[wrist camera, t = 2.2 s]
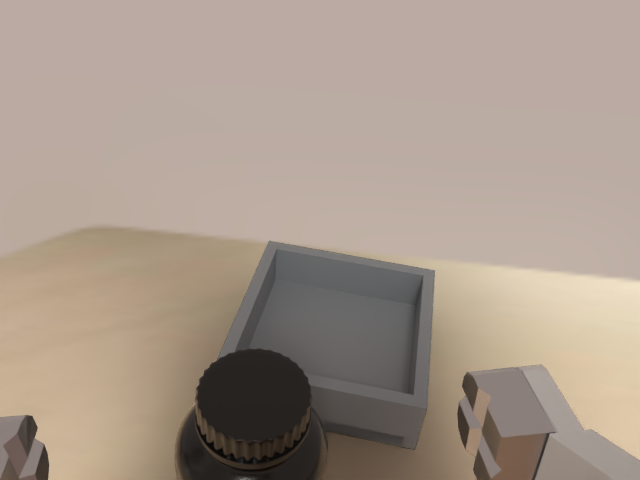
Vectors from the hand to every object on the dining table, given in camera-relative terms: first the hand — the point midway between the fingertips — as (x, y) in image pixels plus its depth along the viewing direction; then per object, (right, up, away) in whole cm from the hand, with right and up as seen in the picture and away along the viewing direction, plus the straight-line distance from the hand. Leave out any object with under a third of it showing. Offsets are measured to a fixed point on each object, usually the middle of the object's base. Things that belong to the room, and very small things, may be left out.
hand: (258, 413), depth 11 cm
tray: (+2, -5, +31) cm, 31 cm away
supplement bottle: (-2, -12, +20) cm, 24 cm away
